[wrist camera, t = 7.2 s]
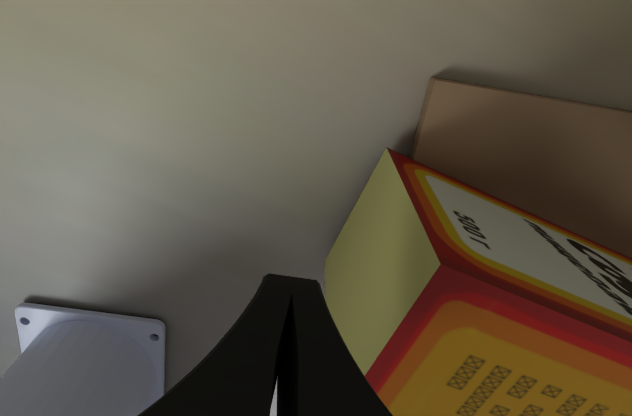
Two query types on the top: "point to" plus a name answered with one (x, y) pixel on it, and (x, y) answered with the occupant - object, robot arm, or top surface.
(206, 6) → the top surface
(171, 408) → the robot arm
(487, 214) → the baking soda box
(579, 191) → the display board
